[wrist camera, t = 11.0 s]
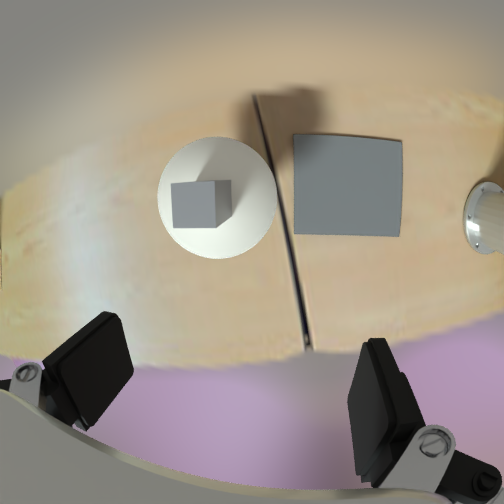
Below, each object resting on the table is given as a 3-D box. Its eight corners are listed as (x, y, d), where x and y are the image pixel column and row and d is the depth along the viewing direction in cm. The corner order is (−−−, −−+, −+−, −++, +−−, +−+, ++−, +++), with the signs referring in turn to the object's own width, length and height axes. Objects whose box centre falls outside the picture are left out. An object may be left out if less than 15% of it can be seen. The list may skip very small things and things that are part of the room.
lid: (276, 135, 24) (272, 121, 18) (276, 257, 28) (273, 283, 21) (160, 144, 26) (124, 137, 19) (166, 254, 29) (134, 276, 22)
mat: (400, 142, 33) (401, 142, 32) (397, 235, 37) (399, 236, 36) (293, 134, 35) (293, 134, 34) (293, 233, 39) (294, 234, 38)
